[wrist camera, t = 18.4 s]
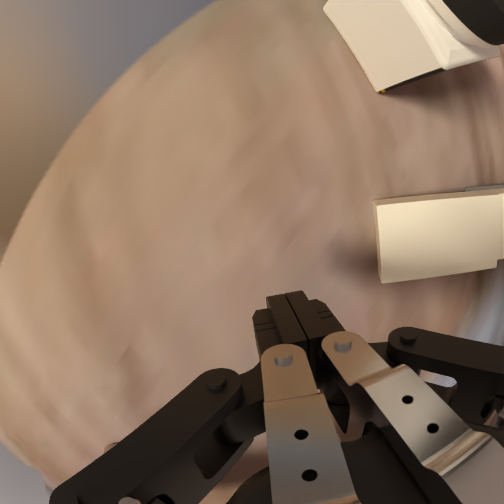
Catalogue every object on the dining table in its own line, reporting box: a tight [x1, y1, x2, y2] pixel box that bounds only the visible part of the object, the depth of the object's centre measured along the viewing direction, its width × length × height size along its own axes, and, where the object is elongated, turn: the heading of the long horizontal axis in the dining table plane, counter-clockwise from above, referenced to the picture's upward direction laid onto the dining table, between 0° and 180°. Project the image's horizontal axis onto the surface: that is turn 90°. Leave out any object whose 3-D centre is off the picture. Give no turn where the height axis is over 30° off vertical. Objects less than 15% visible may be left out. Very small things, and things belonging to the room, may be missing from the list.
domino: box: [372, 190, 500, 283], centre depth 15 cm, size 5×2×9 cm
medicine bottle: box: [323, 0, 504, 93], centre depth 8 cm, size 7×7×12 cm
